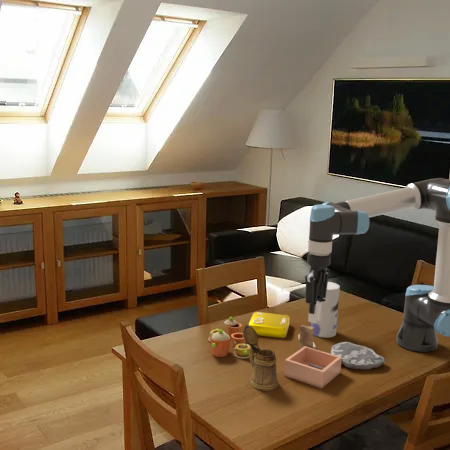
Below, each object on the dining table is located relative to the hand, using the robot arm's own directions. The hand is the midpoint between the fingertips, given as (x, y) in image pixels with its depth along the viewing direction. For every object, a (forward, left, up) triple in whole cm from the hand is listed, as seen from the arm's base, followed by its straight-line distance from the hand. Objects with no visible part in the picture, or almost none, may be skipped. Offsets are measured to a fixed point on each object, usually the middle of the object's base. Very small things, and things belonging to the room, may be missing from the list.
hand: (314, 320), depth 192 cm
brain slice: (-8, -18, -19) cm, 28 cm away
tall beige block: (+7, -9, -19) cm, 22 cm away
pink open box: (-1, +1, -19) cm, 19 cm away
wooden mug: (+10, +17, -19) cm, 27 cm away
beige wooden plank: (+12, -20, -19) cm, 30 cm away
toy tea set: (+35, -1, -19) cm, 40 cm away
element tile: (+31, -24, -19) cm, 43 cm away
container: (+12, -34, -19) cm, 41 cm away
